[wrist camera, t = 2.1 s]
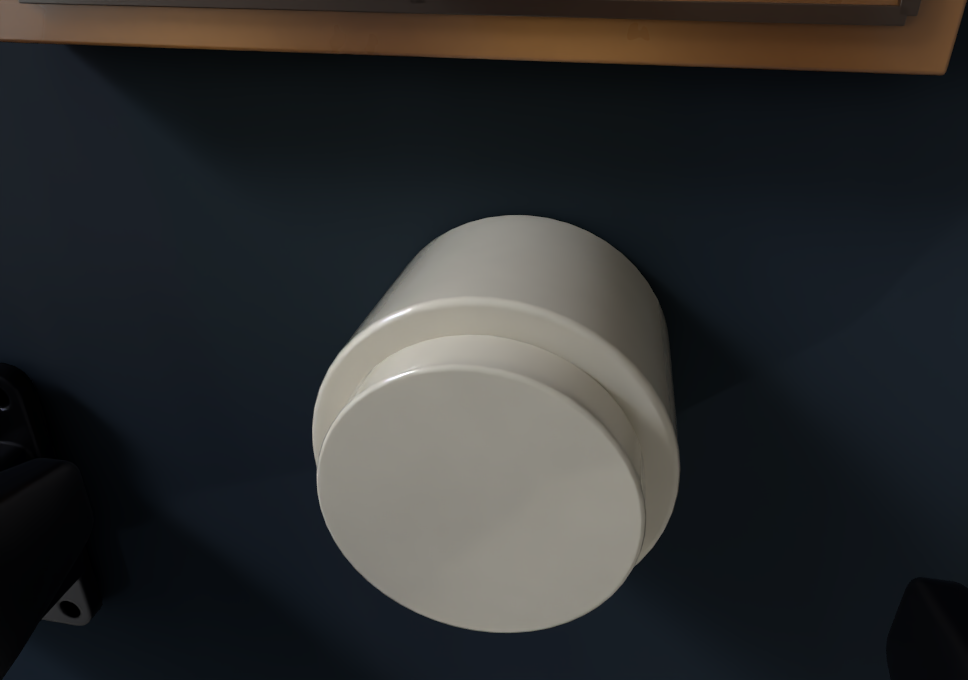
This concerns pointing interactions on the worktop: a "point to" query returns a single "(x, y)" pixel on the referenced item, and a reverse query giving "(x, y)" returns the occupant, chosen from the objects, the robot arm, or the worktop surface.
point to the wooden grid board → (523, 30)
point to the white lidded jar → (502, 428)
